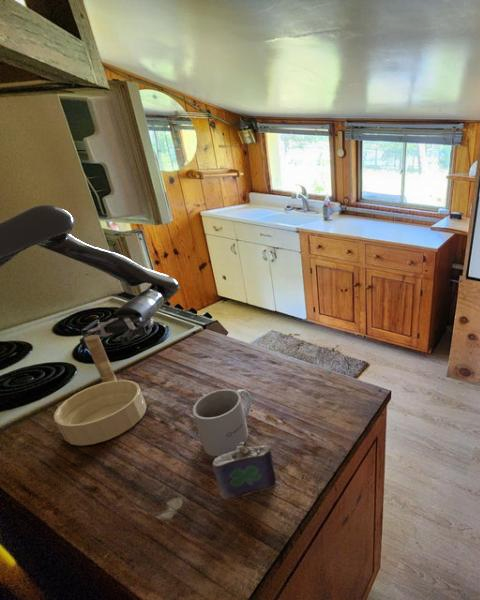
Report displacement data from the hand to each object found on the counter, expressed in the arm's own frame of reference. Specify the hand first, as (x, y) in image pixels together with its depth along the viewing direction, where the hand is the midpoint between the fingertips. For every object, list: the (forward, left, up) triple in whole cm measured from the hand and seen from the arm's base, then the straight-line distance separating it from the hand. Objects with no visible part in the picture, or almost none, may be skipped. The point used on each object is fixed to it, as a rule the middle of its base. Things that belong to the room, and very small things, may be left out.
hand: (103, 342), depth 81 cm
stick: (0, -3, -11) cm, 12 cm away
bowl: (+6, -16, -11) cm, 20 cm away
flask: (+40, -38, -12) cm, 56 cm away
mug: (+34, -24, -12) cm, 43 cm away
